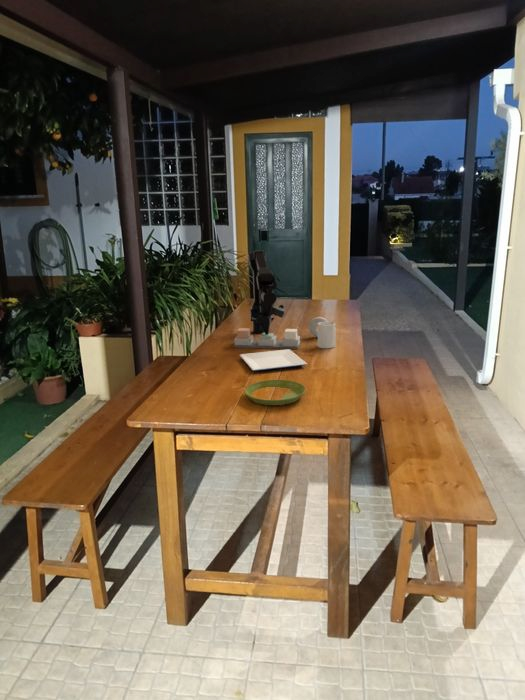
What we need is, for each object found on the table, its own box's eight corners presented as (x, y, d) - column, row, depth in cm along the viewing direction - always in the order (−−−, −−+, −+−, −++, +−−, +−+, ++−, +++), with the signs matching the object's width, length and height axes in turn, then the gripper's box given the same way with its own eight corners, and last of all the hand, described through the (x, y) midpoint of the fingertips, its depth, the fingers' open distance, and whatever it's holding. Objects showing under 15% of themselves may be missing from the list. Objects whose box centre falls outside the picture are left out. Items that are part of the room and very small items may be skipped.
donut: (308, 338, 261) (308, 317, 258) (308, 336, 264) (308, 316, 261) (329, 338, 260) (329, 317, 257) (329, 336, 263) (329, 316, 260)
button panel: (239, 341, 259) (238, 333, 258) (300, 343, 253) (300, 335, 252) (234, 347, 249) (233, 339, 248) (297, 349, 244) (297, 340, 243)
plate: (252, 374, 212) (252, 369, 212) (239, 358, 233) (239, 354, 232) (307, 368, 218) (307, 363, 217) (289, 353, 239) (289, 348, 238)
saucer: (317, 395, 189) (317, 386, 188) (279, 414, 174) (278, 404, 173) (272, 383, 202) (272, 375, 201) (232, 400, 187) (232, 391, 187)
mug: (333, 349, 242) (333, 325, 239) (316, 348, 244) (316, 325, 241) (338, 341, 253) (338, 319, 250) (321, 341, 255) (321, 319, 252)
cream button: (286, 337, 251) (286, 328, 250) (297, 337, 250) (297, 329, 249) (284, 340, 246) (284, 331, 245) (295, 340, 245) (295, 331, 244)
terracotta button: (239, 336, 255) (239, 328, 254) (250, 336, 254) (249, 328, 253) (237, 339, 251) (236, 330, 249) (247, 339, 250) (247, 330, 248)
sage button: (263, 341, 254) (262, 332, 253) (273, 341, 253) (273, 333, 252) (260, 344, 249) (260, 335, 248) (271, 344, 248) (271, 335, 247)
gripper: (280, 305, 235) (281, 340, 239) (287, 296, 253) (287, 329, 257) (255, 304, 237) (256, 339, 242) (263, 296, 255) (264, 329, 259)
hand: (267, 334), depth 250 cm, fingers closed, pressing on sage button
